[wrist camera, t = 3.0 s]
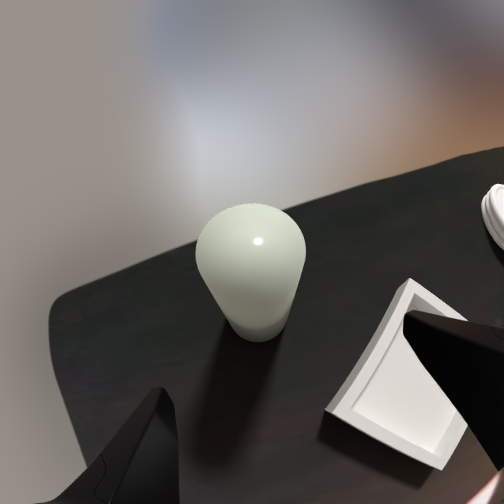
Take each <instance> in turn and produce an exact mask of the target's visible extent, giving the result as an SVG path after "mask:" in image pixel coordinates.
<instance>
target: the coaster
mask: <svg viewBox="0 0 504 504" xmlns="http://www.w3.org/2000/svg"><path fill="white" fill-rule="evenodd" d="M481 211H482V216H483V220H484V223H485V225H486V227H487V229H488V231H489V233H490V235H491V236H492V238H493V239H494V241H495V242H496V243H497V244H498V246H499V247H500V248H501V249H503V250H504V185H501V184H496V185H494V186H493V187H492V188H491V190H490V191H489V192H488V193H487V195H486V196H484V198H483V200H482V203H481Z"/></svg>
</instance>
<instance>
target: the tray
mask: <svg viewBox="0 0 504 504" xmlns="http://www.w3.org/2000/svg"><path fill="white" fill-rule="evenodd" d="M411 310H418V311H422V312H427V313H431V314H436V315H441V316H446V317H450V318H455V319H460V320H465V321H467V320H466V319H465V318H464V317H462V316H461V315H460V314H458V313H457V312H456V311H455V310H453V309H452V308H451V307H449V306H448V305H447V304H445V303H444V302H443V301H441V300H440V299H439V298H437V297H436V296H434V295H433V294H432V293H430V292H429V291H428V290H426V289H425V288H423V287H422V286H421V285H419V284H418V283H416V282H415V281H414V280H412V279H411V278H409V279H408V280H407V281H406V282H405V283H403V284H402V285H401V286H400V287H399V288H398V289H397V291H396V293H395V295H394V297H393V300H392V302H391V303H390V305H389V307H388V309H387V311H386V313H385V315H384V317H383V319H382V321H381V323H380V324H379V326H378V328H377V330H376V332H375V333H374V335H373V337H372V339H371V340H370V342H369V344H368V346H367V347H366V349H365V351H364V352H363V354H362V356H361V357H360V359H359V360H358V362H357V364H356V365H355V367H354V368H353V370H352V371H351V373H350V375H349V376H348V378H347V379H346V381H345V382H344V384H343V385H342V386H341V388H340V389H339V391H338V392H337V394H336V395H335V397H334V398H333V399H332V401H331V402H330V403H329V405H328V406H327V408H326V409H325V410H326V411H327V412H329V413H331V414H332V415H334V416H336V417H337V418H339V419H340V420H342V421H344V422H346V423H347V424H349V425H351V426H352V427H354V428H356V429H358V430H359V431H361V432H363V433H365V434H366V435H368V436H370V437H372V438H374V439H376V440H377V441H379V442H381V443H383V444H385V445H387V446H389V447H391V448H393V449H395V450H396V451H398V452H400V453H402V454H405V455H407V456H409V457H411V458H413V459H415V460H417V461H419V462H421V463H423V464H426V465H428V466H431V467H434V468H436V469H439V470H442V469H443V468H444V466H445V465H446V463H447V461H448V460H449V458H450V456H451V455H452V453H453V451H454V450H455V448H456V446H457V444H458V443H459V441H460V439H461V437H462V435H463V433H464V431H465V429H466V427H467V423H466V422H465V421H464V419H463V418H462V416H461V415H460V414H459V412H458V411H457V410H456V408H455V407H454V406H453V404H452V403H451V401H450V400H449V399H448V397H447V396H446V395H445V393H444V392H443V391H442V390H441V388H440V387H439V386H438V384H437V383H436V382H435V380H434V379H433V378H432V377H431V375H430V374H429V373H428V372H427V370H426V369H425V368H424V366H423V365H422V364H421V362H420V361H419V359H418V358H417V356H416V354H415V353H414V351H413V350H412V348H411V347H410V345H409V343H408V342H407V340H406V339H405V337H404V335H403V319H404V314H405V313H407V312H409V311H411Z"/></svg>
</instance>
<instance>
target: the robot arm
mask: <svg viewBox="0 0 504 504" xmlns="http://www.w3.org/2000/svg"><path fill="white" fill-rule="evenodd" d="M403 335H404V337H405V339H406V340H407V342H408V343H409V345H410V347H411V348H412V350H413V351H414V353H415V354H416V356H417V358H418V359H419V361H420V362H421V364H422V365H423V366H424V368H425V369H426V370H427V372H428V373H429V374H430V375H431V377H432V378H433V379H434V380H435V382H436V383H437V384H438V386H439V387H440V388H441V390H442V391H443V392H444V393H445V395H446V396H447V397H448V399H449V400H450V401H451V403H452V404H453V406H454V407H455V408H456V410H457V411H458V412H459V414H460V415H461V416H462V418H463V419H464V421H465V422H466V423H467V425H468V426H469V428H470V429H471V431H472V432H473V434H474V435H475V436H476V438H477V440H478V441H479V443H480V444H481V445H482V447H483V448H484V450H485V452H486V453H487V455H488V456H489V458H490V459H491V461H492V462H493V464H494V466H495V467H496V469H497V470H498V471H500V470H501V469H502V468H503V467H504V328H500V327H495V326H489V325H485V324H480V323H475V322H470V321H465V320H460V319H455V318H450V317H446V316H441V315H436V314H431V313H427V312H422V311H418V310H411V311H409V312H407V313H405V314H404V319H403ZM36 504H180V501H179V467H178V436H177V427H176V418H175V408H174V404H173V402H172V400H171V398H170V397H169V395H168V393H167V392H166V390H165V389H164V388H163V387H158V388H153V389H151V390H150V392H149V393H148V394H147V395H146V397H145V398H144V399H143V400H142V402H141V403H140V404H139V405H138V407H137V408H136V409H135V410H134V412H133V413H132V414H131V415H130V417H129V418H128V419H127V420H126V421H125V423H124V424H123V425H122V426H121V428H120V429H119V430H118V431H117V433H116V434H115V435H114V436H113V438H112V439H111V440H110V441H109V442H108V444H107V445H106V446H105V447H104V449H103V450H102V451H101V453H99V455H98V456H97V457H96V458H95V460H94V461H93V462H92V463H91V464H90V465H89V466H88V468H87V469H86V470H85V471H84V472H83V473H82V474H81V475H80V476H79V477H78V478H77V479H76V480H75V481H74V482H73V483H72V484H71V485H70V486H69V487H68V488H67V489H66V490H64V491H63V492H62V493H61V494H60V495H59V496H58V497H56V498H55V499H53V500H51V501H48V502H44V503H36ZM499 504H504V499H503V500H502V501H501V502H500V503H499Z"/></svg>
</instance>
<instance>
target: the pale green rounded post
mask: <svg viewBox="0 0 504 504" xmlns="http://www.w3.org/2000/svg"><path fill="white" fill-rule="evenodd" d="M305 255H306V247H305V241H304V238H303V235H302V233H301V231H300V229H299V227H298V226H297V224H296V223H295V222H294V221H293V220H292V219H291V218H290V217H289V216H288V215H287V214H285V213H284V212H282V211H280V210H278V209H276V208H274V207H271V206H268V205H264V204H254V203H249V204H241V205H236V206H233V207H230V208H228V209H226V210H224V211H222V212H220V213H219V214H217V215H216V216H214V217H213V218H212V219H211V220H210V221H209V222H208V223H207V225H206V226H205V227H204V229H203V230H202V232H201V234H200V236H199V239H198V242H197V246H196V262H197V266H198V269H199V272H200V274H201V276H202V278H203V279H204V281H205V283H206V284H207V286H208V288H209V290H210V291H211V293H212V295H213V296H214V298H215V300H216V301H217V303H218V305H219V307H220V308H221V310H222V312H223V313H224V315H225V316H226V318H227V320H228V321H229V323H230V325H231V326H232V328H233V329H234V331H235V332H236V333H237V334H238V335H239V336H240V337H242V338H243V339H245V340H248V341H251V342H264V341H268V340H270V339H272V338H274V337H276V336H277V335H278V334H279V333H280V332H281V331H282V330H283V328H284V326H285V324H286V321H287V318H288V315H289V312H290V308H291V305H292V302H293V299H294V295H295V292H296V289H297V286H298V282H299V279H300V275H301V272H302V269H303V265H304V261H305Z"/></svg>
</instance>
